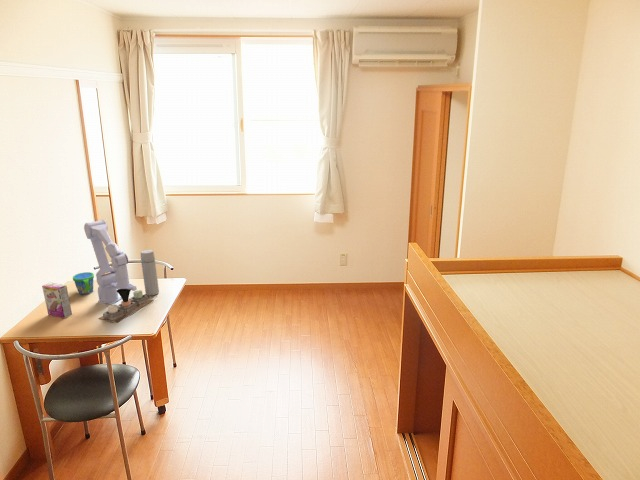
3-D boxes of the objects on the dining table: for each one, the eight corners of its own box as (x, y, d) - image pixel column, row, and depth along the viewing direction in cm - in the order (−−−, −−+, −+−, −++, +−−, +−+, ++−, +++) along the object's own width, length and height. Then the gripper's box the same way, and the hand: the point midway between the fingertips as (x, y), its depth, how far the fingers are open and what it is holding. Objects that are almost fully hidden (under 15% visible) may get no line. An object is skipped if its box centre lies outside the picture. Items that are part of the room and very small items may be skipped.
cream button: (106, 314, 223) (105, 307, 222) (113, 310, 227) (112, 303, 226) (113, 315, 222) (112, 308, 221) (120, 312, 226) (119, 305, 225)
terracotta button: (120, 309, 232) (119, 302, 231) (126, 305, 236) (125, 299, 235) (127, 310, 230) (126, 303, 229) (133, 306, 234) (132, 300, 233)
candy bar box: (47, 315, 228) (41, 285, 223) (56, 311, 232) (50, 282, 227) (64, 318, 224) (58, 288, 219) (72, 314, 229) (67, 284, 224)
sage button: (132, 299, 240) (131, 293, 238) (138, 296, 243) (137, 290, 242) (139, 300, 238) (138, 294, 237) (144, 297, 242) (143, 291, 241)
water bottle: (162, 292, 254) (157, 250, 246) (150, 297, 247) (145, 254, 240) (151, 288, 258) (146, 247, 251) (140, 293, 252) (134, 251, 244)
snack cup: (98, 294, 251) (95, 278, 248) (77, 299, 246) (73, 282, 243) (94, 285, 264) (91, 269, 260) (74, 289, 258) (71, 273, 255)
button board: (98, 318, 224) (97, 313, 223) (135, 297, 247) (134, 292, 246) (117, 322, 220) (116, 317, 219) (153, 300, 243) (152, 295, 242)
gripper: (104, 278, 227) (108, 302, 231) (127, 281, 222) (131, 306, 226) (115, 273, 233) (119, 297, 237) (137, 276, 228) (141, 300, 232)
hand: (125, 301), depth 232 cm, fingers closed, pressing on terracotta button
